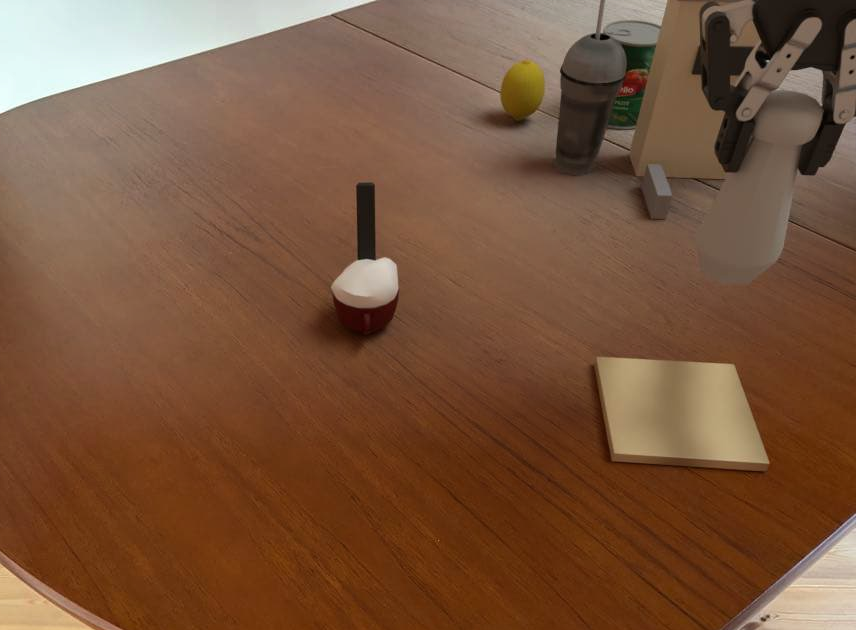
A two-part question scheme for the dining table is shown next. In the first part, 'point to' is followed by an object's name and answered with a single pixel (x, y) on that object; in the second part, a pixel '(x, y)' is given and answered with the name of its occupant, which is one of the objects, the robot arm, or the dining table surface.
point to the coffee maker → (681, 106)
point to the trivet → (678, 414)
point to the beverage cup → (587, 98)
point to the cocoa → (366, 275)
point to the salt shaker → (758, 192)
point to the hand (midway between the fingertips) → (766, 167)
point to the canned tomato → (632, 68)
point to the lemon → (522, 89)
